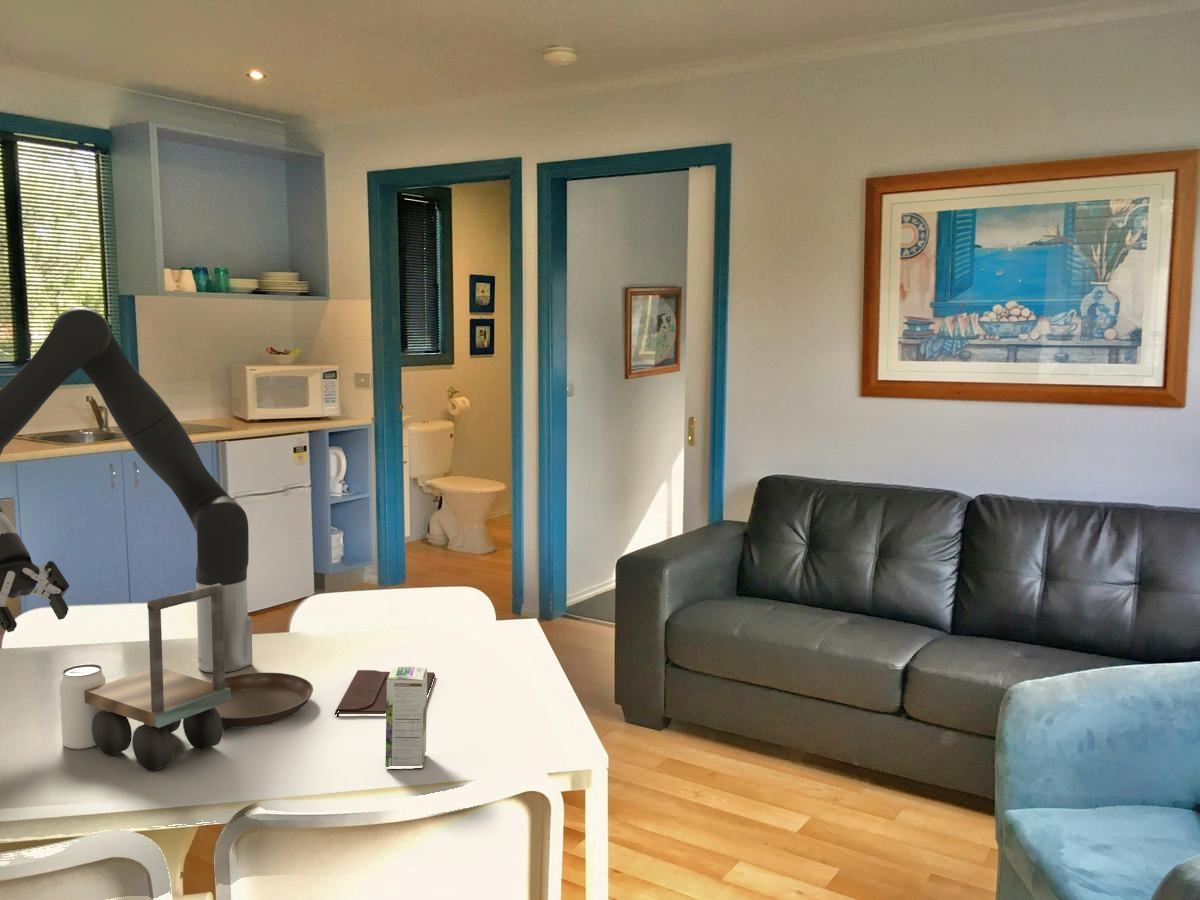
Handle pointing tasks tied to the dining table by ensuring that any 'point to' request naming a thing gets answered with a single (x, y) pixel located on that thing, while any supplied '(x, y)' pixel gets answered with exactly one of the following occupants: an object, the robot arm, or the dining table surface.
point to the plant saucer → (263, 699)
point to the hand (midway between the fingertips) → (38, 622)
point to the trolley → (163, 695)
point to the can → (78, 705)
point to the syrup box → (406, 716)
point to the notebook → (369, 693)
